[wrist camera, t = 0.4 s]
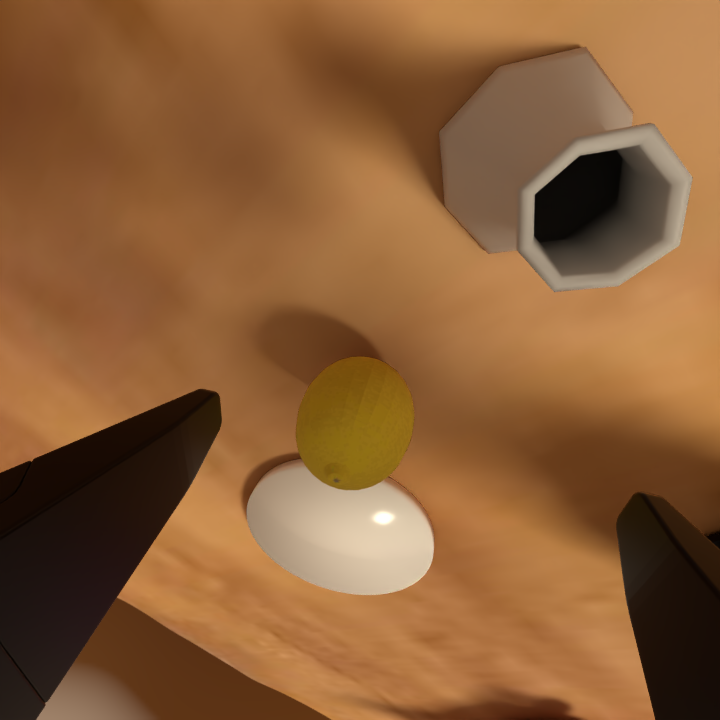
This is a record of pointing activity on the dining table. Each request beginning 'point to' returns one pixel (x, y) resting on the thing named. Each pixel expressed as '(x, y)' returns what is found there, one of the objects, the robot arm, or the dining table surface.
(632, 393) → the dining table surface
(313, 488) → the plate
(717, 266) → the dining table surface
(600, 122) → the flask
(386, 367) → the lemon
